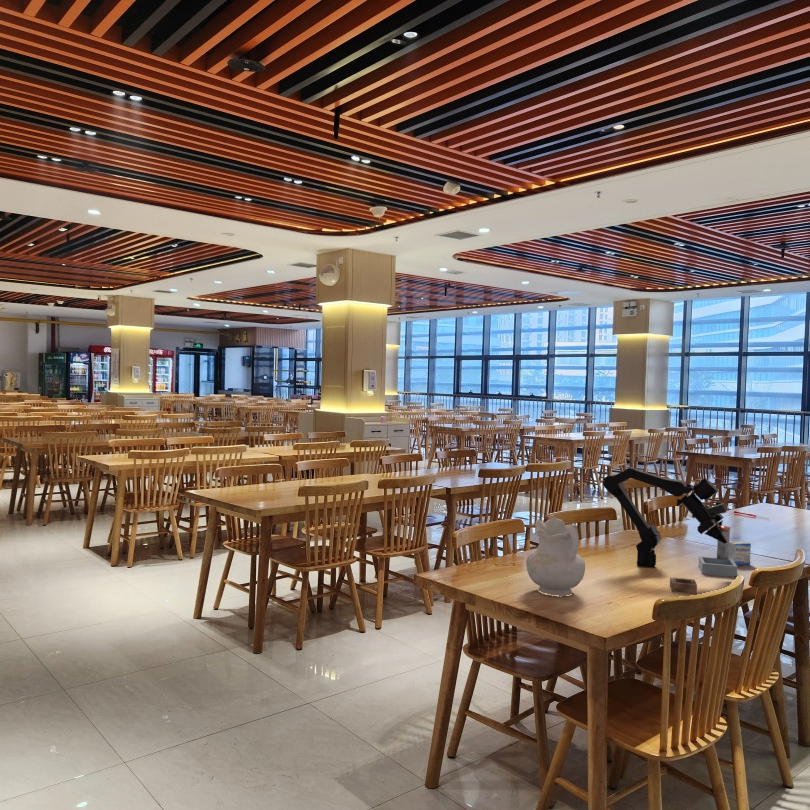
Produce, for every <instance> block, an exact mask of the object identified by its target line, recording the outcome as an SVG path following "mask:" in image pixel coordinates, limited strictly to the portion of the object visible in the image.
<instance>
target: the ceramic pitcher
mask: <svg viewBox="0 0 810 810" xmlns="http://www.w3.org/2000/svg"><path fill="white" fill-rule="evenodd" d="M564 522H565V521H564V519H560V518H557V517H556V516H551V517H548V519H547V520H546V521H545V522H543V521H542V520H540V519H538V518H537V519H536V521H535V524H534V525H535V532H536V534H537V537H538V546H537V548H536V549H534V551H532V552H531V553H530V554H528V556H527V558H526V559H525V560H526V561H525V563H526V571H527V575H528V576H529V578H530V579H531V581H532V582H533V583H534V584H535V585H537V586H539V587H538V589H537V591H538V590H539V591H541V592H543V593H547V594H551V595H559V596H566V595H570V594H572V592H573V591H572V589H574V588H575V587H577V586H578V585H579V584H580V583H581V582H582V580H583V579H584V576H585V574H586V562H585V560H584V558H583V557H582V556H581V555H580V554H579V553H578V551H579V544H580V543H579V542H580V538H579V533H578V527H577V525H575V524H574V523H572V524H571V523H569V524H567V525H566V524H565V523H564Z"/></svg>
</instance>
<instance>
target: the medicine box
mask: <svg viewBox="0 0 810 810" xmlns="http://www.w3.org/2000/svg"><path fill="white" fill-rule="evenodd" d="M751 548H752V547H751V542H747V541H729V559H732V560H733V561H734V563H735V564H736V565H737V566H748V565H751V551H752V550H751Z"/></svg>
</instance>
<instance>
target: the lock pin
mask: <svg viewBox="0 0 810 810" xmlns="http://www.w3.org/2000/svg"><path fill="white" fill-rule="evenodd" d="M719 530H720V532H721V533H722V535H723V536H724V538H725V539H726V541H727V543H725V544H724V543H722V542H720V541H718V540H716V541H717V545H716V546H717V547H716V558H717V559H719V560H729V542H730V537H731V536H730V535H731V532H730V531H731V527H730V526H728V525H722V526H719Z"/></svg>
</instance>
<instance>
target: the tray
mask: <svg viewBox="0 0 810 810" xmlns="http://www.w3.org/2000/svg"><path fill="white" fill-rule="evenodd" d="M697 565H698V569H699V571H700V572H701V574H702V575H709V576H718V577H720V576H721V577H729V576H732V578H735V577H734V576H737V577H738V565H736V564H735V563H734V561H733V560H732V559H729V560H719V559H717V557H711V556H700V555H699V556H698V564H697Z"/></svg>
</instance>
